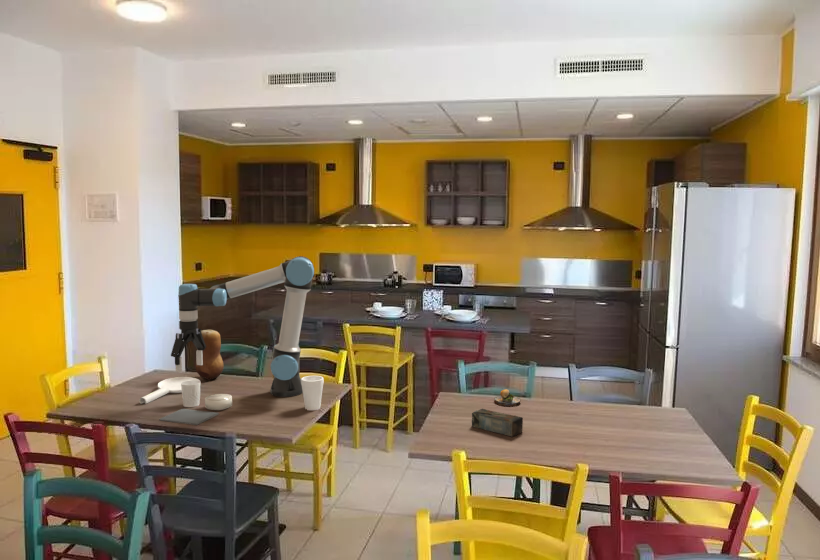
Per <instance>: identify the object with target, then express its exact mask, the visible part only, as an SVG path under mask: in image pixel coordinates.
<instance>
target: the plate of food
mask: <svg viewBox="0 0 820 560" xmlns="http://www.w3.org/2000/svg"><path fill="white" fill-rule="evenodd" d="M493 402H494V404H496V405H498V406H502V407H516V406H517V404H518V403H521V398H520V397H518V396H515V395H513V394H511V392H510V390H509V389H502V390H501V391H500V393H499V395H498V396H495V397H494V399H493Z"/></svg>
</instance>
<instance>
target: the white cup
mask: <svg viewBox="0 0 820 560" xmlns="http://www.w3.org/2000/svg"><path fill="white" fill-rule="evenodd" d="M200 382H201V380H200V381H197V380H190V381H185V382H182V383H181V389H182V393H181V397H182V406H183V407H184V408H195V407H198V406H200V403H201V400H200V399H201V385H200Z"/></svg>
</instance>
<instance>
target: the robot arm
mask: <svg viewBox="0 0 820 560" xmlns="http://www.w3.org/2000/svg"><path fill="white" fill-rule="evenodd" d="M314 276H315V267H314V263H313V262H312V261H311V259H309V258H308V257H306V256H303V255H300V256H299V255H298V256H295V257H294V258H292V259H290V260H287V261H284V262H281V263H280V265H278V266H275V267H273V268H270V269H265V270H263V271H259V272H257V273H252V274H250V275H246V276H243V277H240V278H237V279H233V280H231V281H230V280H229V281H227V282H224V283H220V284H215V285H212V286H211V287H210V288H198V285H197V284H196V283H183V284H182V283H181V284H180V285H178V294H177V295H178V297H177V298H178V318H179V321H178V325H179V327H178V329H179V330H180V333H178V332H177V333H175V339H174V343H173V346H172V348H171V349H172V350H171V353H170V357H172V358H174V364H175V373H183V357H182V354H183V352H184V350H185V348H186V345H187V344H188V343H190V342H192V344H193V345H194V347H195V348H196V349H197V350H196V355H195V356H196V358H195V359H196V361H195V365H196V364H197V365H203V350H205V348H206V344H205V341H204V339H203V336H202V333H201V331H202V329H201V328H199V327H198V326H199V324H198V323H199V321H198V318H199V315H198V307H217V308H218V307H225V306H226V304H227V300H230V299H233V298H236V297H240V296H242V295H246V294H249V293H252V292H256V291H260V290H262V289H266V288H269V287H273V286H276V285H278V284H283V283H284V286H283V287H285V289H286V294H285V301H284V305H283V306H284V307H283V312H282V313H283V314H282V320H281V326H280V332H279V338H278V343H276V344H274V345H273V350H272V351H273V353H272V357H271V358H272V361H271V362H270V366H269V367H270V370H271V371H270V372H271V374H272V375H273V380H272V383H271V385H270V394H271V396H274V397H280V398H281V397H282V398H283V397H284V398H285V397H288V398H289V397H295V396H299V395H301V394H302V395H303V390H302V385H301V378H302V377H301V376H300V375H301V374H300V357H301V351H302V349H301V348H300V345H299V343H300V335H301V329H302V324H303V316H304V312H305V306H306V305H305V304H306V299H307V295H308V294H307V293H309V292H310V291H311V290H312V284H313V278H314ZM202 344H203V345H202Z"/></svg>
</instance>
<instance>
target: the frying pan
mask: <svg viewBox="0 0 820 560" xmlns="http://www.w3.org/2000/svg"><path fill="white" fill-rule="evenodd" d="M190 380H197V381H200V386H201V385H202V384H201V380H200V379H199V378H195V377H191V376H177V377H169V378H166V379H163V380H161V381H159V382H158V383H157V389H156V390H154V391H153V392H151V393H149V394H146V395H144V396H142V397H140V398H139V404H141V405H142V404H145V405H146V404H147V405H148V403H151V402H153V401H155V400H156V399H159V398H161V397H163V396H165V395H167V394H169V393H170V394H182V389H181V383H182V382H185V381H190Z"/></svg>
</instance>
